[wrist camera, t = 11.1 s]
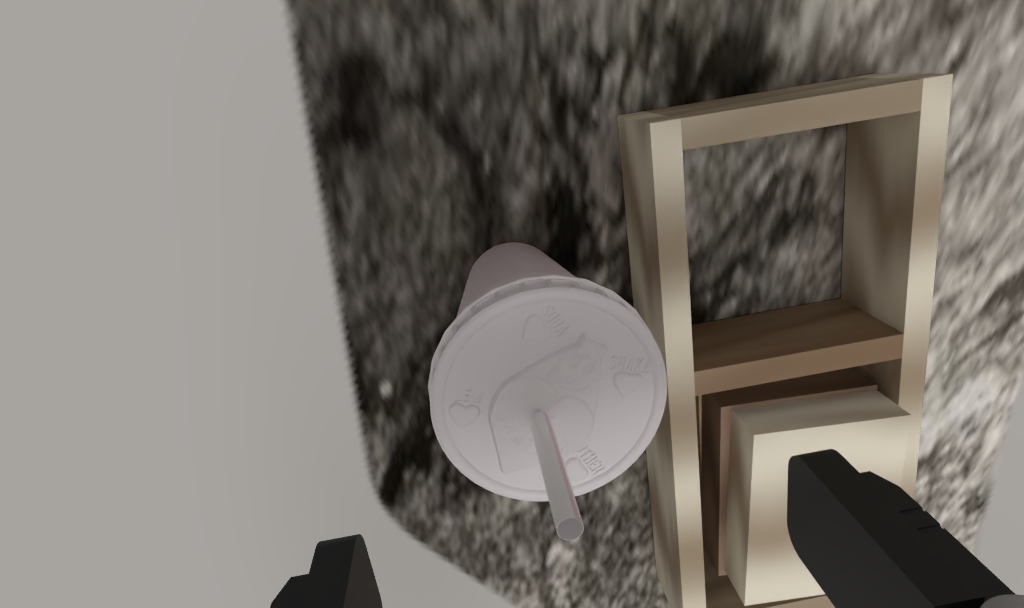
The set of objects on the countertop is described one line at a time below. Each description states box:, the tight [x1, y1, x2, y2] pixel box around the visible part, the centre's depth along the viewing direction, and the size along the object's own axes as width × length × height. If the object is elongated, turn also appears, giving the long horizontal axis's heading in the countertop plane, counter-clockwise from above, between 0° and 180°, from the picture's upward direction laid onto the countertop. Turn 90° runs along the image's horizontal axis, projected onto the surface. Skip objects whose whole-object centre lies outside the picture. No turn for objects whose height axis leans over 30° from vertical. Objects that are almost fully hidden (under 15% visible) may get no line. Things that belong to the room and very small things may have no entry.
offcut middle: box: [701, 367, 877, 576], centre depth 28 cm, size 8×6×2 cm
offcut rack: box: [617, 74, 953, 608], centre depth 26 cm, size 22×10×4 cm, turn 8°
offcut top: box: [724, 390, 911, 606], centre depth 26 cm, size 8×6×2 cm
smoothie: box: [428, 242, 667, 540], centre depth 19 cm, size 6×6×14 cm
